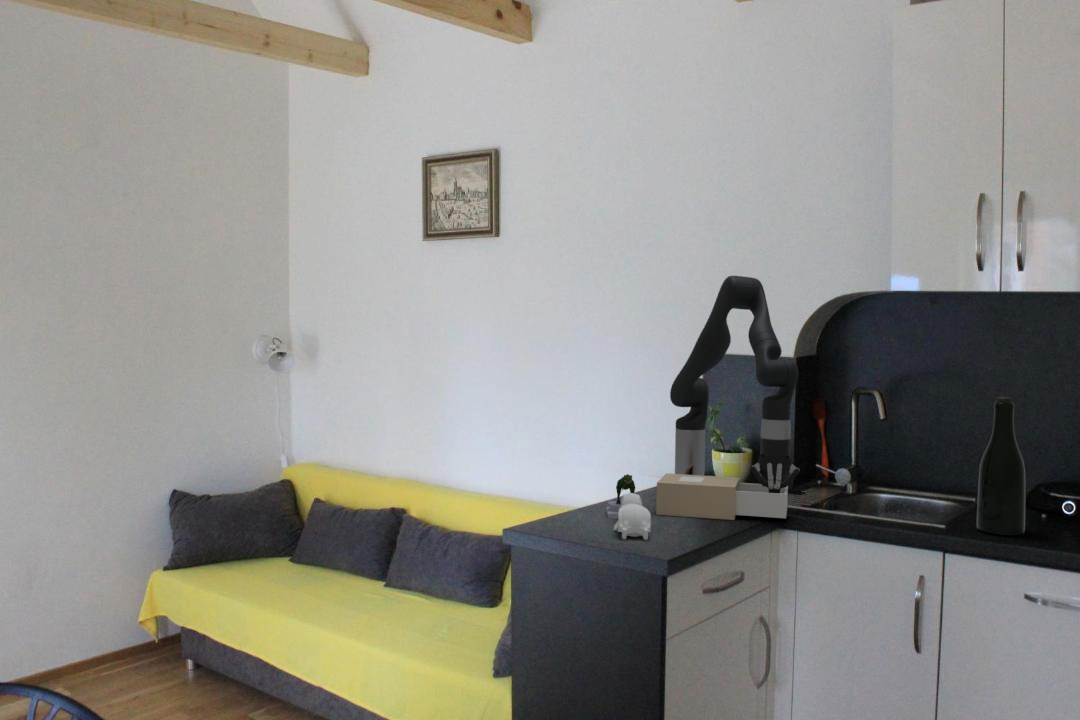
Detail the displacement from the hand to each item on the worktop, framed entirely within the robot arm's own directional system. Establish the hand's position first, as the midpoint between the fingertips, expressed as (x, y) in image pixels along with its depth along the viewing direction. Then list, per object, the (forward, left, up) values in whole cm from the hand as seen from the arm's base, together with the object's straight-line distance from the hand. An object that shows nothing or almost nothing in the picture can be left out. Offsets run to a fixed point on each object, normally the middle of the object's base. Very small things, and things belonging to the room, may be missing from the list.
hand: (774, 502), depth 238 cm
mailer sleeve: (0, -19, -4) cm, 20 cm away
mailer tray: (0, -6, -2) cm, 7 cm away
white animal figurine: (+31, -31, -4) cm, 45 cm away
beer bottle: (0, +54, -4) cm, 54 cm away
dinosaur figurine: (+10, -37, -4) cm, 39 cm away
